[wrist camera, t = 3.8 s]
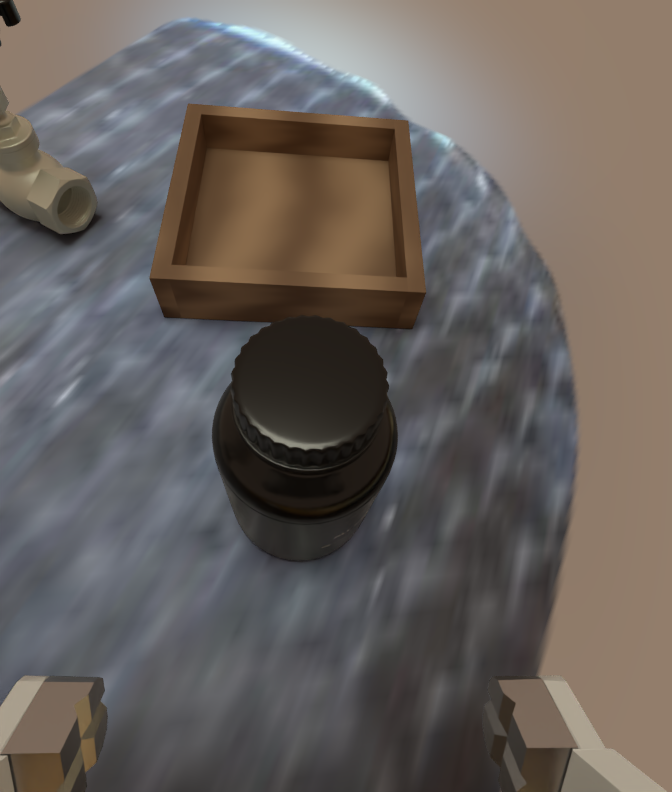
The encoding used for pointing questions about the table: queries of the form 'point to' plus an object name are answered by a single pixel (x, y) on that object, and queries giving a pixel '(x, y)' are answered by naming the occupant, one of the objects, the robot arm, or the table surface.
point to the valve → (38, 170)
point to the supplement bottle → (304, 435)
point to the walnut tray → (290, 220)
